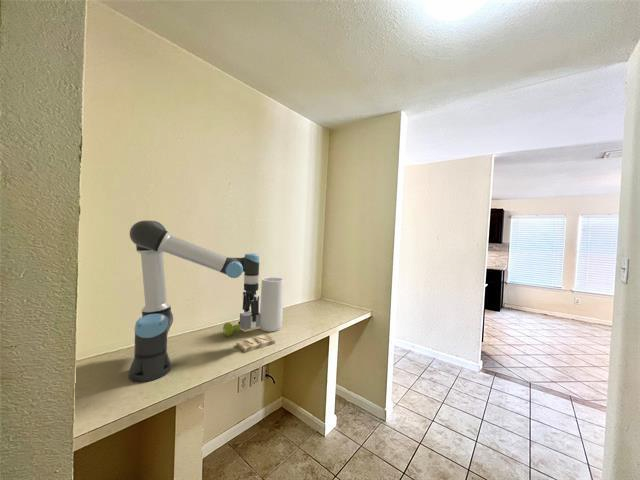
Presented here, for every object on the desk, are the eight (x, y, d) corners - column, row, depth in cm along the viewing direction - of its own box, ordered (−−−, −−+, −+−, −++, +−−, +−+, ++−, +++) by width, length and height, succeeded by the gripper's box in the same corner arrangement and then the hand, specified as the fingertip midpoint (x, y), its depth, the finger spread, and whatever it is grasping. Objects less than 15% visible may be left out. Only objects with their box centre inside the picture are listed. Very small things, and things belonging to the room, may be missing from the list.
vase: (268, 334, 158) (271, 282, 157) (254, 327, 168) (256, 278, 167) (286, 328, 169) (288, 279, 168) (272, 322, 179) (274, 276, 177)
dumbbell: (227, 338, 150) (228, 326, 150) (221, 334, 156) (221, 322, 155) (253, 331, 162) (253, 320, 161) (246, 327, 167) (246, 316, 167)
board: (245, 352, 134) (245, 348, 134) (236, 345, 142) (236, 341, 142) (275, 343, 146) (275, 340, 146) (265, 337, 154) (266, 334, 154)
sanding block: (244, 331, 135) (245, 316, 135) (239, 328, 140) (239, 313, 140) (260, 328, 142) (260, 313, 141) (254, 324, 146) (255, 310, 146)
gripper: (266, 285, 135) (265, 329, 136) (249, 279, 149) (248, 319, 150) (253, 287, 130) (252, 333, 131) (236, 280, 144) (235, 321, 145)
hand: (249, 325), depth 141 cm, fingers closed on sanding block, 6 cm apart
